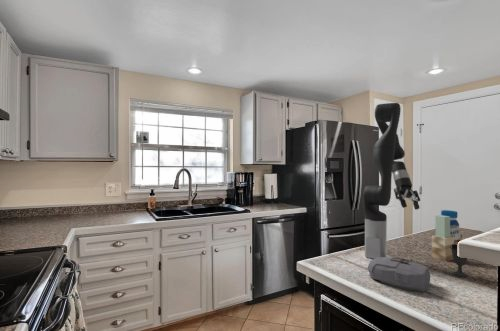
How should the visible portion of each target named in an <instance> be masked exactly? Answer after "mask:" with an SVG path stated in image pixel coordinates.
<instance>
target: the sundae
mask: <svg viewBox="0 0 500 331" xmlns="http://www.w3.org/2000/svg"><path fill="white" fill-rule="evenodd" d="M462 236H463V235H460V234H459V237H460V238H459V239H458V240H457V241H456V242H454V244H453V245H451V246H450V248H451V250H452V256H453V262H454V264H456V265H457V270H456V271H451V274H452V275H455V276H456V277H463V278H467V277H468V276H469V275H468V274H467V273H465V272H463V270H462V269H463V266H465V265H466V264H467V262H468V258H460V257H458V256H457V244H458V242H459V241H461V238H463V237H462Z"/></svg>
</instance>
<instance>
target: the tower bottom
mask: <svg viewBox="0 0 500 331" xmlns="http://www.w3.org/2000/svg"><path fill="white" fill-rule="evenodd" d="M431 258H434V259H437V260H440V261H443V262H449V261H452V260H453V256H452V250H451V249H449V250H443V249H440V248H436V247H432V246H431ZM453 261H454V260H453Z"/></svg>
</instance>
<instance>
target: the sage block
mask: <svg viewBox="0 0 500 331" xmlns="http://www.w3.org/2000/svg"><path fill="white" fill-rule="evenodd" d="M434 220H435V224H434V225H435V228H434V229H435V235H436V236H437V237H442V238H449V237H450V217H449V216H442V215H441V214H440V215H435V219H434Z"/></svg>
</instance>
